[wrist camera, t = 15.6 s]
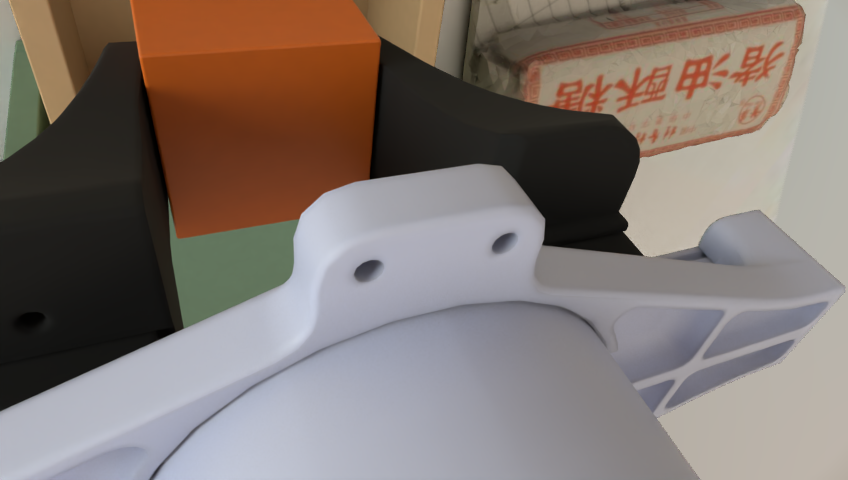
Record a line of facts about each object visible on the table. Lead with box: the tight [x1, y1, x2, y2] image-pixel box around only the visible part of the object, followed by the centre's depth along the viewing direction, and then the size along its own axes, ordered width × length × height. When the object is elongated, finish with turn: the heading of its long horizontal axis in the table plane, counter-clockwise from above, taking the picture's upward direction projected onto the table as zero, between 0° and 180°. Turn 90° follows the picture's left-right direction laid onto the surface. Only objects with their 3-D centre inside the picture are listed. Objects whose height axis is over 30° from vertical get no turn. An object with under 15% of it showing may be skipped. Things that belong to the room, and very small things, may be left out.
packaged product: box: [463, 0, 806, 158], centre depth 30 cm, size 18×5×10 cm
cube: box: [130, 0, 381, 239], centre depth 13 cm, size 4×4×4 cm
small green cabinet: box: [3, 40, 299, 328], centre depth 25 cm, size 14×14×8 cm
